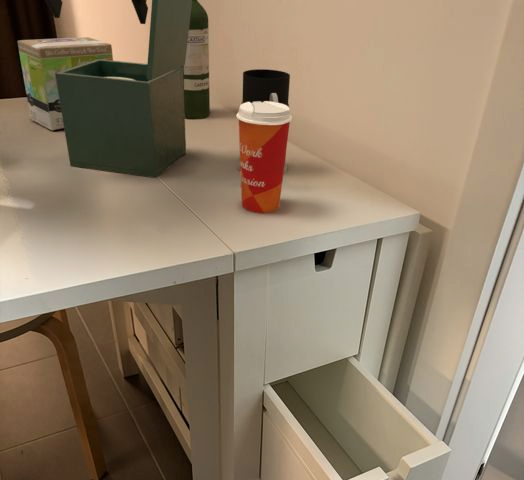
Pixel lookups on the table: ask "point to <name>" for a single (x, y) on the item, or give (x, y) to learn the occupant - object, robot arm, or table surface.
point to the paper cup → (262, 153)
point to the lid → (168, 36)
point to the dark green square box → (122, 117)
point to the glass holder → (266, 88)
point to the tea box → (47, 64)
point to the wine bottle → (197, 65)
